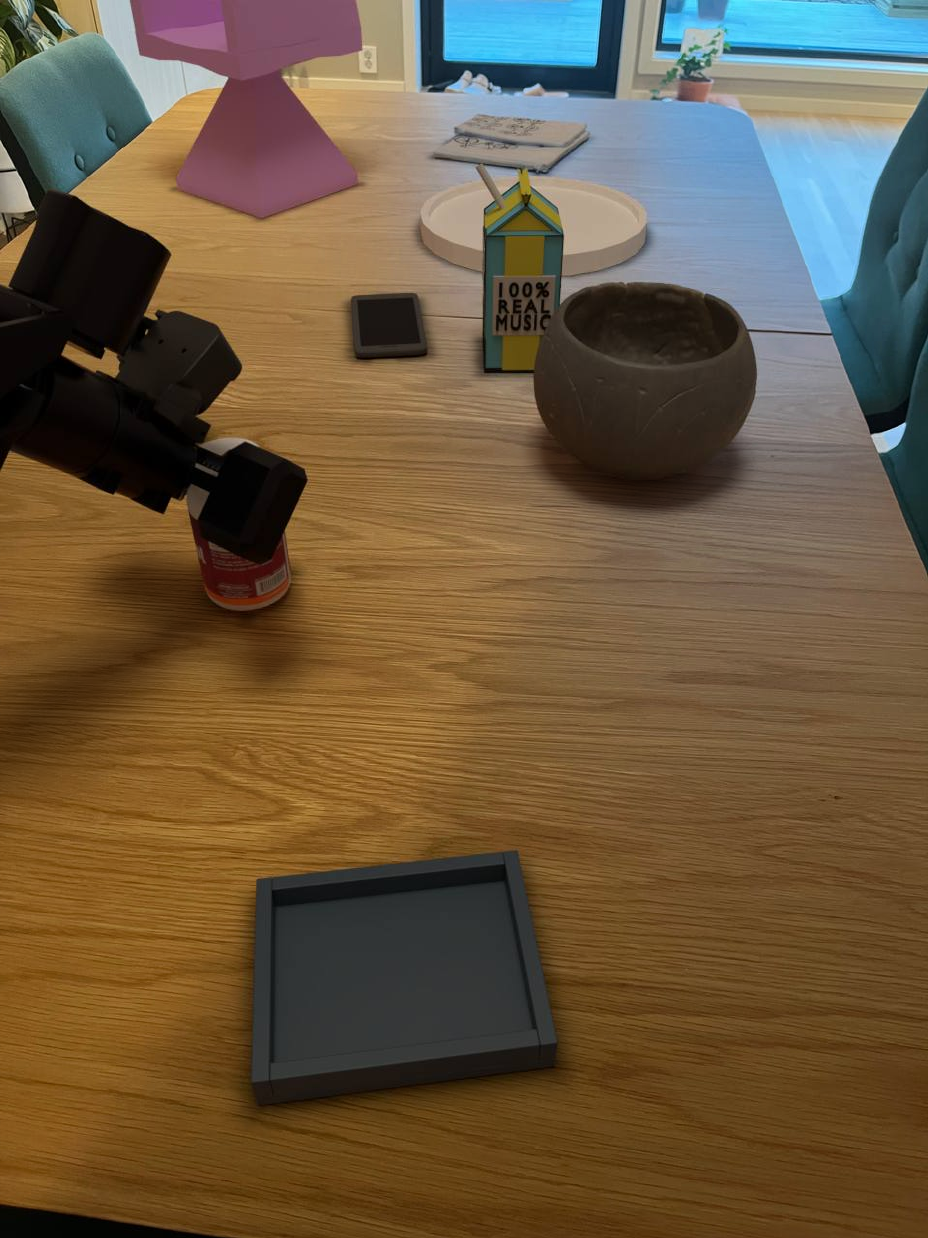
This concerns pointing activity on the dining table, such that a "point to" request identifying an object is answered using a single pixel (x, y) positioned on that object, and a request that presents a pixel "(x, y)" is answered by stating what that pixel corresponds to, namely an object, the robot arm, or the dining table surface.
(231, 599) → the pill bottle
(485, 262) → the carton
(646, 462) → the bowl
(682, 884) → the dining table surface
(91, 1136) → the dining table surface
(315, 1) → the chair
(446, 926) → the dish
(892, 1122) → the dining table surface
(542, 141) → the folded cloth napkin
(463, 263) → the plate
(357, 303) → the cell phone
